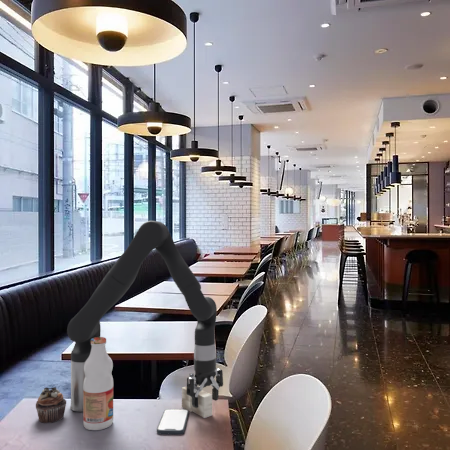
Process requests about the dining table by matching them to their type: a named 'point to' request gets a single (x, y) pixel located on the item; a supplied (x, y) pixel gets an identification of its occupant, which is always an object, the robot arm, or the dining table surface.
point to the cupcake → (50, 405)
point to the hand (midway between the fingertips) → (205, 403)
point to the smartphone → (173, 422)
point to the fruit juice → (98, 387)
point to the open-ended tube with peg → (203, 403)
